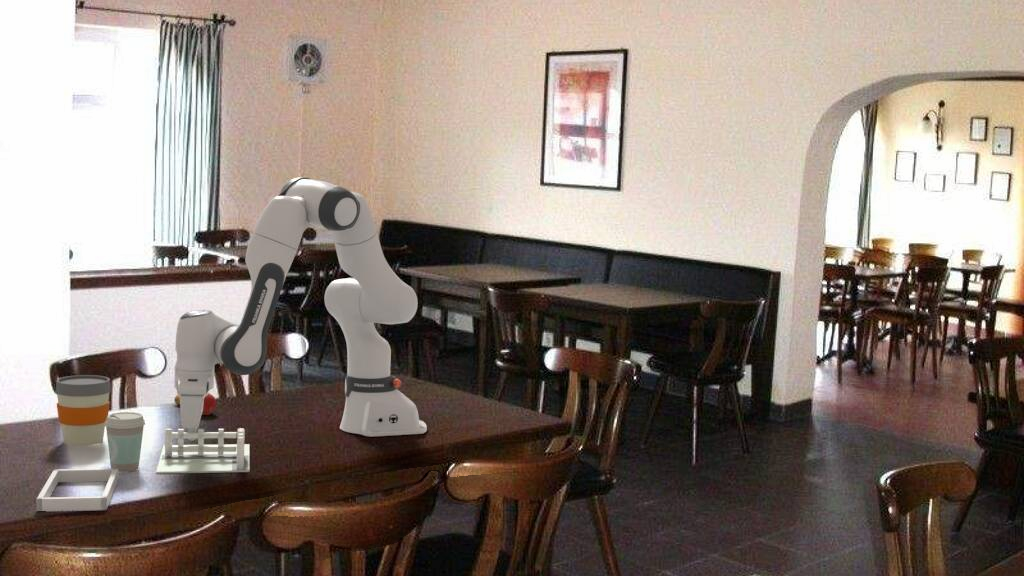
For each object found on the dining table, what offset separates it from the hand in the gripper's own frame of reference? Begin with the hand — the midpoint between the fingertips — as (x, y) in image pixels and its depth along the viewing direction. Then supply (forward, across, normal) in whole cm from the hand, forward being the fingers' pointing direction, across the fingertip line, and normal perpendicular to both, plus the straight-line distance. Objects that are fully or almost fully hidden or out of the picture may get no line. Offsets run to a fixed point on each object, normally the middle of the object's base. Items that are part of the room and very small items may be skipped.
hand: (192, 439), depth 282 cm
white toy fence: (+3, +2, +3) cm, 5 cm away
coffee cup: (+5, +10, -14) cm, 18 cm away
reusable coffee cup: (+5, -15, -26) cm, 31 cm away
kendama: (+4, -50, -3) cm, 50 cm away
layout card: (+4, +2, +3) cm, 6 cm away
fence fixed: (+3, +9, +11) cm, 15 cm away
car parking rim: (+5, +30, -20) cm, 37 cm away
